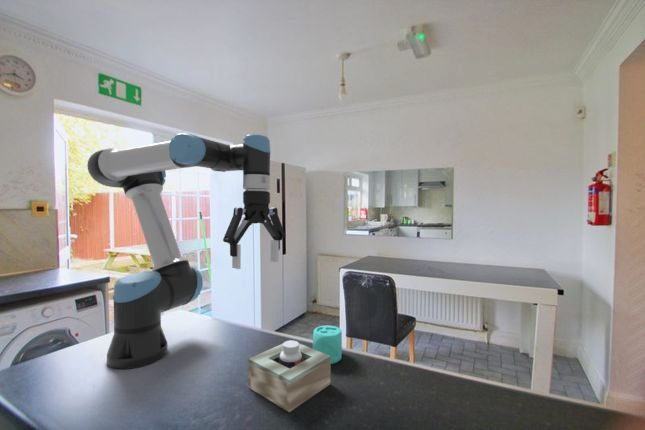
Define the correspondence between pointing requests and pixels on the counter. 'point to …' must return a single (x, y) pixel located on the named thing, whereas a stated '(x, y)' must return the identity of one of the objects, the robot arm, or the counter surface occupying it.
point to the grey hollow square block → (289, 376)
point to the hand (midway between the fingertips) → (256, 264)
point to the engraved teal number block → (328, 342)
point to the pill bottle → (290, 354)
